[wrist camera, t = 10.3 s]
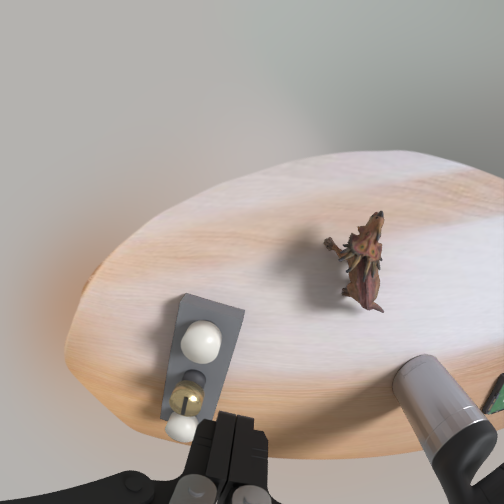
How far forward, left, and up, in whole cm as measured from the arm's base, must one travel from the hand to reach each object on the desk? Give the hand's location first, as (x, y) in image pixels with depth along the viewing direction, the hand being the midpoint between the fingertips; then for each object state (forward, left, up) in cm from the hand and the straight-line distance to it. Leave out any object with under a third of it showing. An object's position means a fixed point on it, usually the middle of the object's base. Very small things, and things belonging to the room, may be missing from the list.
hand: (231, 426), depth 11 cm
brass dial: (-7, +16, -20) cm, 27 cm away
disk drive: (-58, -30, -27) cm, 70 cm away
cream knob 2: (-3, +9, -22) cm, 24 cm away
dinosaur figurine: (-7, -10, -27) cm, 29 cm away
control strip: (-7, +16, -26) cm, 32 cm away
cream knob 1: (-12, +22, -22) cm, 33 cm away
